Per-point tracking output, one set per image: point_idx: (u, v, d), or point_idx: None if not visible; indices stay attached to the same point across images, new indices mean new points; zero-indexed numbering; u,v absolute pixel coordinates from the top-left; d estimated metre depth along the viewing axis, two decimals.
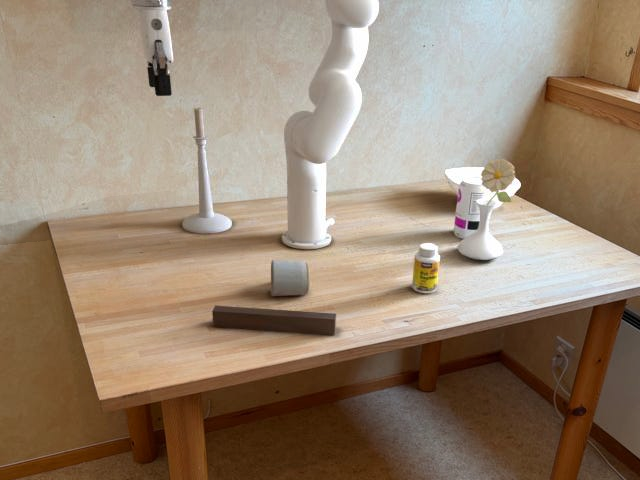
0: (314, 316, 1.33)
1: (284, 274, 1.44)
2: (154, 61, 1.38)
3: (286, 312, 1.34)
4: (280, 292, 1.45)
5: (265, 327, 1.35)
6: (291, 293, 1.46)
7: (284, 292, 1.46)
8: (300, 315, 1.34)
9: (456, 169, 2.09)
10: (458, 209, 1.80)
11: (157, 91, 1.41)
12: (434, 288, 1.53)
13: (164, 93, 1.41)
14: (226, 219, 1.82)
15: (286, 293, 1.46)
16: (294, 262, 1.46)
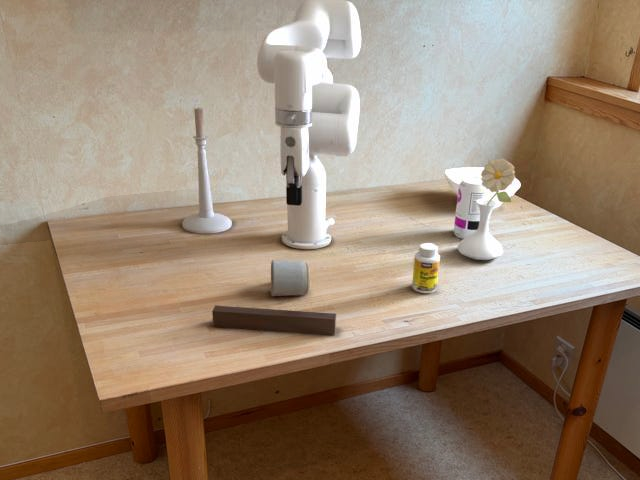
0: (314, 316, 1.33)
1: (284, 274, 1.44)
2: (287, 177, 1.45)
3: (286, 312, 1.34)
4: (280, 292, 1.45)
5: (265, 327, 1.35)
6: (291, 293, 1.46)
7: (284, 292, 1.46)
8: (300, 315, 1.34)
9: (456, 169, 2.09)
10: (458, 209, 1.80)
11: (288, 200, 1.49)
12: (434, 288, 1.53)
13: (294, 203, 1.50)
14: (226, 219, 1.82)
15: (286, 293, 1.46)
16: (294, 262, 1.46)
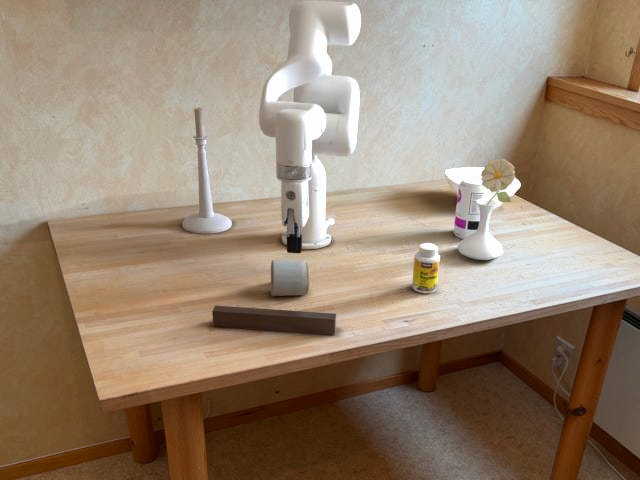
0: (314, 316, 1.33)
1: (284, 274, 1.44)
2: (287, 227, 1.51)
3: (286, 312, 1.34)
4: (280, 292, 1.45)
5: (265, 327, 1.35)
6: (291, 293, 1.46)
7: (284, 292, 1.46)
8: (300, 315, 1.34)
9: (456, 169, 2.09)
10: (458, 209, 1.80)
11: (288, 249, 1.55)
12: (434, 288, 1.53)
13: (294, 251, 1.55)
14: (226, 219, 1.82)
15: (286, 293, 1.46)
16: (294, 262, 1.46)
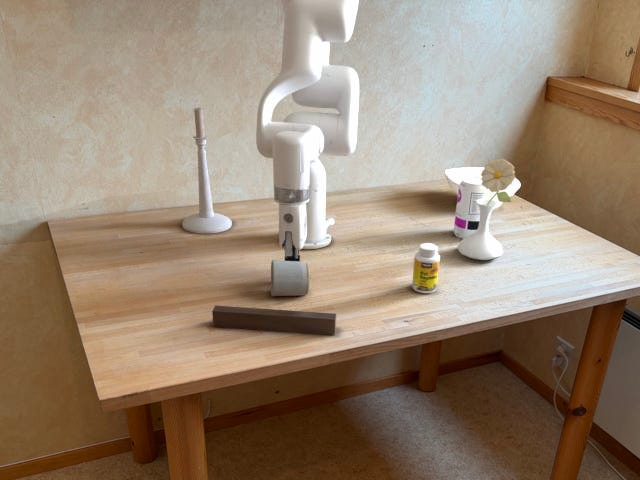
0: (314, 316, 1.33)
1: (284, 274, 1.44)
2: (285, 248, 1.50)
3: (286, 312, 1.34)
4: (280, 292, 1.45)
5: (265, 327, 1.35)
6: (291, 293, 1.46)
7: (283, 293, 1.46)
8: (300, 315, 1.34)
9: (456, 169, 2.09)
10: (458, 209, 1.80)
11: None
12: (434, 288, 1.53)
13: None
14: (226, 219, 1.82)
15: (286, 293, 1.46)
16: (294, 262, 1.46)
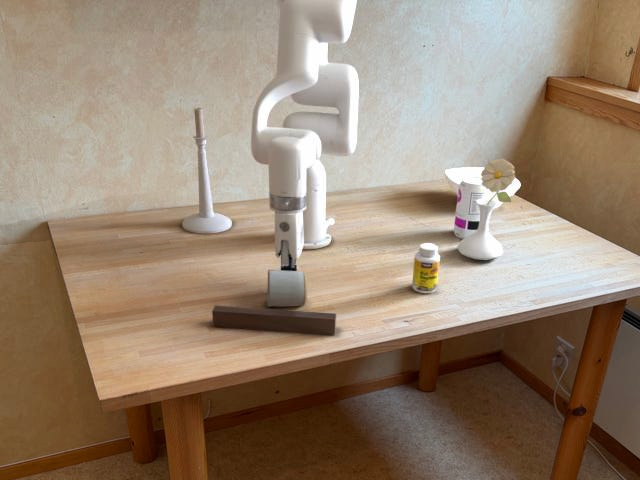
0: (314, 316, 1.33)
1: (280, 285, 1.39)
2: (281, 258, 1.45)
3: (286, 312, 1.34)
4: (276, 303, 1.41)
5: (265, 327, 1.35)
6: (288, 304, 1.42)
7: (280, 303, 1.41)
8: (300, 315, 1.34)
9: (456, 169, 2.09)
10: (458, 209, 1.80)
11: None
12: (434, 288, 1.53)
13: None
14: (226, 219, 1.82)
15: (282, 304, 1.42)
16: (291, 272, 1.42)
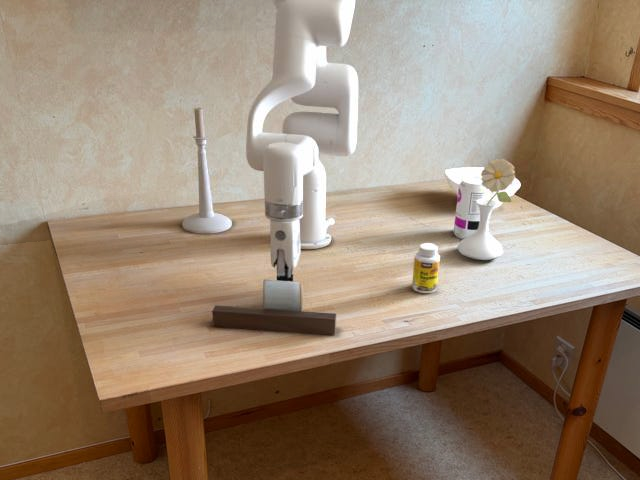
0: (314, 316, 1.33)
1: (275, 295, 1.35)
2: (277, 267, 1.40)
3: (286, 312, 1.34)
4: None
5: (265, 327, 1.35)
6: None
7: None
8: (300, 315, 1.34)
9: (456, 169, 2.09)
10: (458, 209, 1.80)
11: None
12: (434, 288, 1.53)
13: None
14: (226, 219, 1.82)
15: None
16: (287, 282, 1.37)
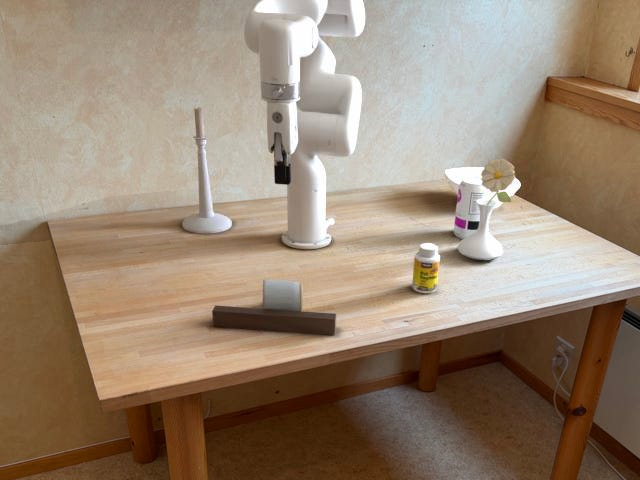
0: (314, 316, 1.33)
1: (275, 295, 1.35)
2: (275, 154, 1.38)
3: (286, 312, 1.34)
4: None
5: (265, 327, 1.35)
6: None
7: None
8: (300, 315, 1.34)
9: (456, 169, 2.09)
10: (458, 209, 1.80)
11: (276, 179, 1.42)
12: (434, 288, 1.53)
13: (283, 182, 1.42)
14: (226, 219, 1.82)
15: None
16: (287, 282, 1.37)
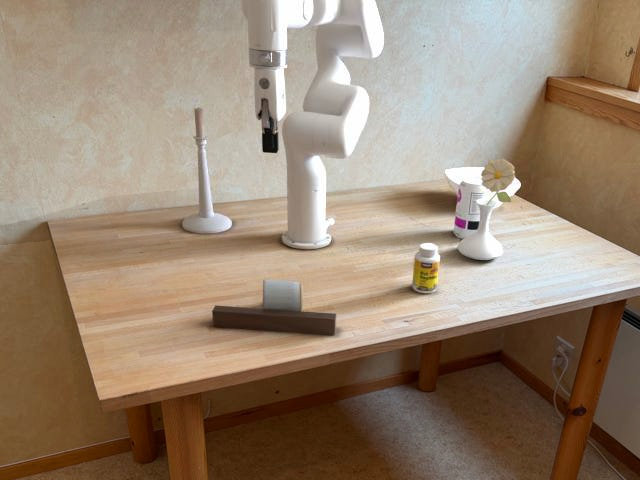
0: (314, 316, 1.33)
1: (275, 295, 1.35)
2: None
3: (286, 312, 1.34)
4: None
5: (265, 327, 1.35)
6: None
7: None
8: (300, 315, 1.34)
9: (456, 169, 2.09)
10: (458, 209, 1.80)
11: (264, 148, 1.45)
12: (434, 288, 1.53)
13: (270, 150, 1.45)
14: (226, 219, 1.82)
15: None
16: (287, 282, 1.37)
